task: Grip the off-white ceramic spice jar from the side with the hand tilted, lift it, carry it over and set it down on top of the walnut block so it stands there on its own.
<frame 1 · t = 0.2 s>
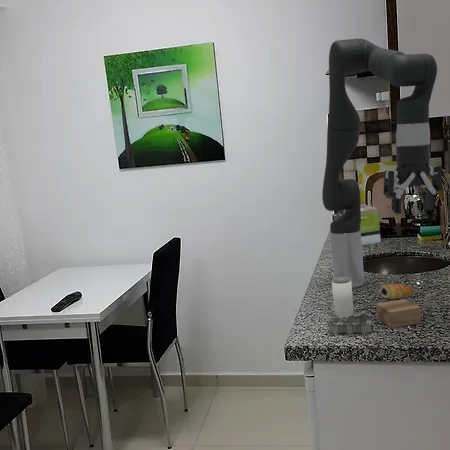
hand: (413, 211, 139), 28 cm above the worktop, tool pointing down, fingers open, 8 cm apart
pastry: (395, 297, 170), on the worktop
egg carton: (350, 331, 146), on the worktop
walnut block: (398, 320, 148), on the worktop
spice jar: (343, 313, 159), on the worktop
tea box: (362, 241, 249), on the worktop
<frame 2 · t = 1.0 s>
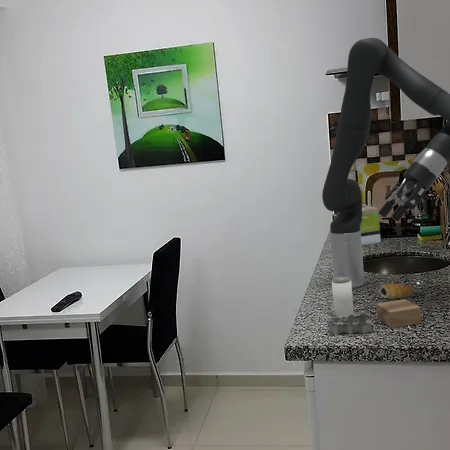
hand: (387, 217, 157), 25 cm above the worktop, tool tilted 45°, fingers open, 8 cm apart
nothing on the worktop moved.
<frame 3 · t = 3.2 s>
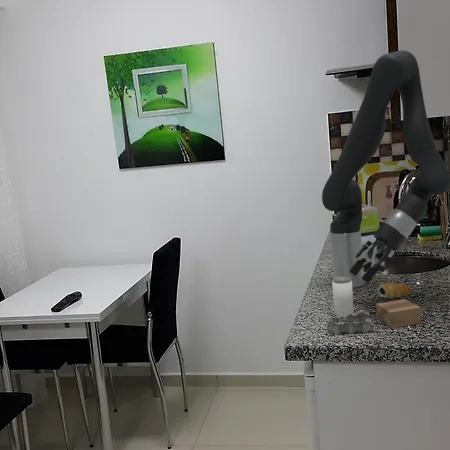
hand: (358, 277, 158), 9 cm above the worktop, tool tilted 45°, fingers open, 8 cm apart
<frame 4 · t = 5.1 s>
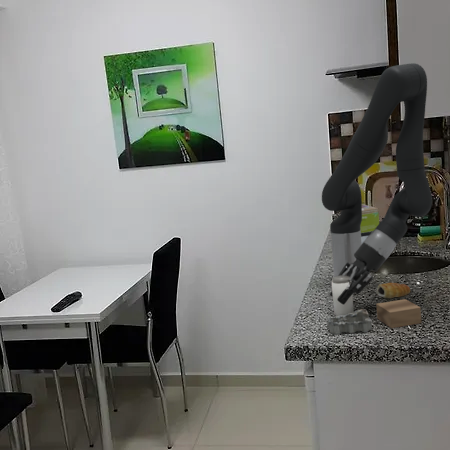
hand: (336, 299, 158), 4 cm above the worktop, tool tilted 45°, fingers closed on spice jar, 5 cm apart
spice jar: (343, 313, 159), on the worktop, touching gripper
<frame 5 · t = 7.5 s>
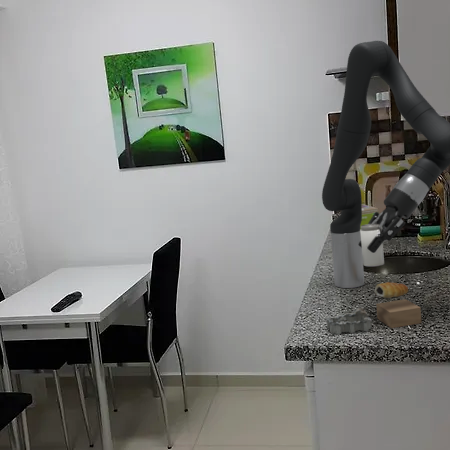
hand: (365, 248, 149), 19 cm above the worktop, tool tilted 45°, fingers closed on spice jar, 5 cm apart
spice jar: (373, 263, 150), point 15 cm above the worktop, touching gripper
when the fingers open (10 cm above the worktop, at t = 10.0 s): spice jar drops 1 cm, resting on walnut block.
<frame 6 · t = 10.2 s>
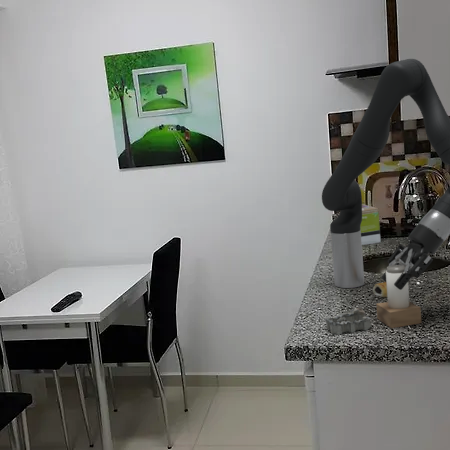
hand: (390, 283, 147), 10 cm above the worktop, tool tilted 45°, fingers open, 6 cm apart
spice jar: (398, 305, 148), point 4 cm above the worktop, touching walnut block
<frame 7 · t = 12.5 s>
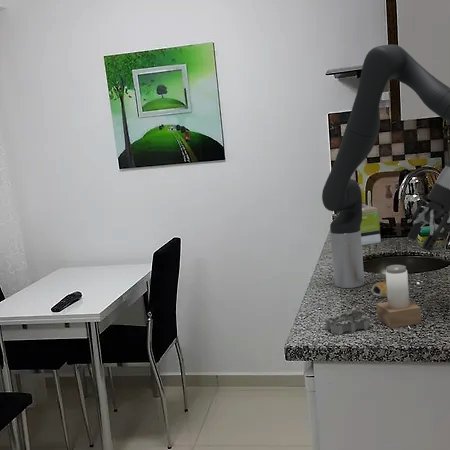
hand: (418, 243, 152), 18 cm above the worktop, tool tilted 30°, fingers open, 8 cm apart
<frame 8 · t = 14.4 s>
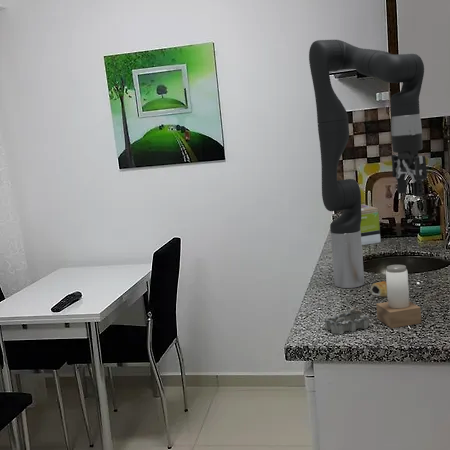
hand: (410, 194, 155), 30 cm above the worktop, tool pointing down, fingers open, 8 cm apart
at the end: spice jar inside the target area on the walnut block (0.1 cm from its centre), point 4.1 cm above the walnut block's base; spice jar tilted 1°; the gripper is holding nothing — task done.
